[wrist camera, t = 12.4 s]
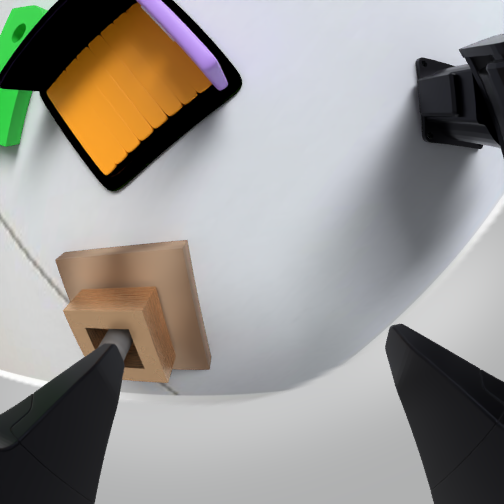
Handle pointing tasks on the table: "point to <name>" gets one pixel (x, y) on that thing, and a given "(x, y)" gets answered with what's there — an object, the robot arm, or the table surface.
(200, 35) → the toy room diorama
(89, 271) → the post stand
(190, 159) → the table surface
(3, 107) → the mechanical part
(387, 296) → the table surface
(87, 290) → the wooden collar
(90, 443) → the robot arm
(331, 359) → the table surface
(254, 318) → the table surface
